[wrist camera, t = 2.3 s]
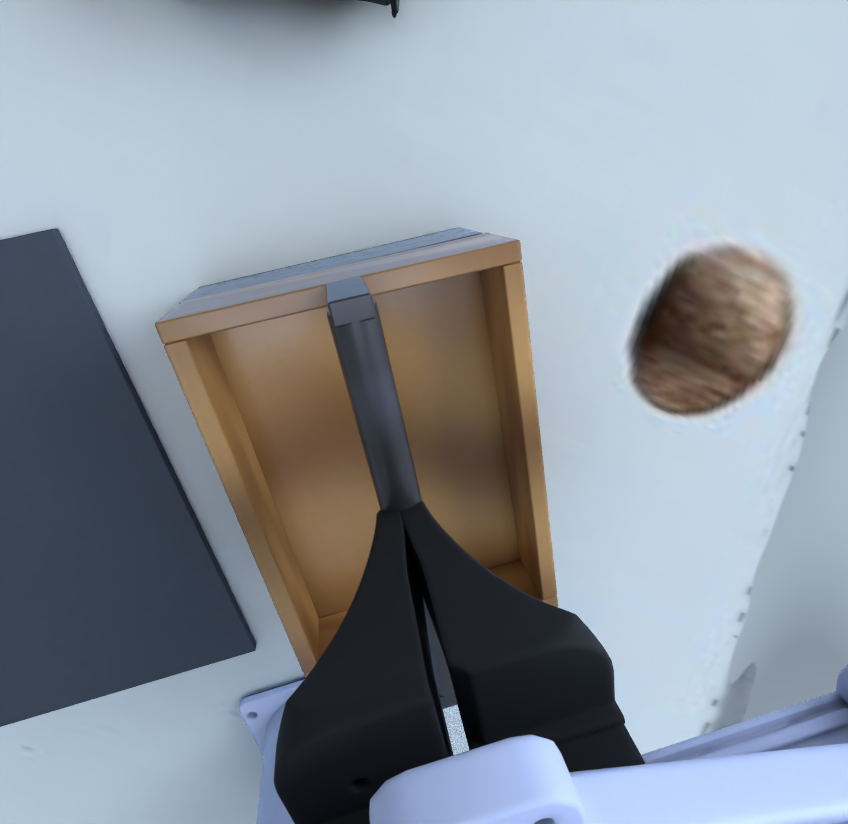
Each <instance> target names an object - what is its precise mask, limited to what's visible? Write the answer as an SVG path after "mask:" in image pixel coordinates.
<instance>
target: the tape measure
mask: <svg viewBox="0 0 848 824" xmlns="http://www.w3.org/2000/svg"><path fill="white" fill-rule="evenodd" d="M361 1H368V2H373V3H377V4H381V5H389V4H391V10H392V16H393V17H394V18H395V17H396V15H397V13H398V10H399V0H361Z"/></svg>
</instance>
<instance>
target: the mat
mask: <svg viewBox="0 0 848 824" xmlns="http://www.w3.org/2000/svg"><path fill="white" fill-rule="evenodd" d="M255 650H256V643H255V641H254V639H253V637H252V635H251V633H250V630H249V628H248V626H247V624H246V622H245V620H244V618H243V616H242V614H241V612H240V610H239V607H238V605H237V603H236V601H235V599H234V597H233V595H232V593H231V591H230V589H229V586H228V584H227V582H226V580H225V578H224V576H223V574H222V572H221V570H220V568H219V566H218V563H217V561H216V559H215V557H214V555H213V553H212V551H211V549H210V547H209V545H208V542H207V540H206V538H205V536H204V534H203V532H202V530H201V528H200V526H199V524H198V521H197V519H196V517H195V515H194V513H193V511H192V509H191V507H190V505H189V503H188V501H187V498H186V496H185V494H184V492H183V490H182V488H181V486H180V484H179V482H178V480H177V477H176V475H175V473H174V471H173V469H172V467H171V465H170V463H169V461H168V459H167V456H166V454H165V452H164V450H163V448H162V446H161V444H160V442H159V440H158V438H157V436H156V433H155V431H154V429H153V427H152V425H151V423H150V421H149V419H148V417H147V415H146V412H145V410H144V408H143V406H142V404H141V402H140V400H139V398H138V396H137V394H136V391H135V389H134V387H133V385H132V383H131V381H130V379H129V377H128V375H127V373H126V371H125V368H124V366H123V364H122V362H121V360H120V358H119V356H118V354H117V352H116V350H115V347H114V345H113V343H112V341H111V339H110V337H109V335H108V333H107V331H106V329H105V327H104V324H103V322H102V320H101V318H100V316H99V314H98V312H97V310H96V308H95V306H94V303H93V301H92V299H91V297H90V295H89V293H88V291H87V289H86V287H85V285H84V282H83V280H82V278H81V276H80V274H79V272H78V270H77V268H76V266H75V264H74V262H73V259H72V257H71V255H70V253H69V251H68V249H67V247H66V245H65V243H64V241H63V238H62V236H61V234H60V232H59V230H58V229H51V230H46V231H41V232H37V233H32V234H27V235H22V236H18V237H13V238H8V239H4V240H0V727H1V726H4V725H8V724H11V723H14V722H18V721H21V720H25V719H28V718H31V717H35V716H38V715H41V714H45V713H48V712H51V711H55V710H58V709H61V708H65V707H68V706H71V705H75V704H78V703H81V702H85V701H88V700H91V699H95V698H98V697H102V696H105V695H108V694H112V693H115V692H118V691H122V690H125V689H128V688H132V687H135V686H138V685H142V684H145V683H148V682H152V681H155V680H158V679H162V678H165V677H168V676H172V675H175V674H179V673H182V672H185V671H189V670H192V669H195V668H199V667H202V666H205V665H209V664H212V663H215V662H219V661H222V660H225V659H229V658H232V657H235V656H239V655H242V654H245V653H249V652H252V651H255Z"/></svg>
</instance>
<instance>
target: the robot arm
mask: <svg viewBox="0 0 848 824" xmlns="http://www.w3.org/2000/svg"><path fill="white" fill-rule="evenodd" d="M423 599H424V601H425V604H426V607H427V610H428V612H429V615H430V618H431V621H432V624H433V626H434V629H435V632H436V635H437V637H438V640H439V643H440V646H441V649H442V651H443V654H444V657H445V660H446V663H447V666H448V670H449V673H450V677H451V681H452V685H453V688H454V692H455V696H456V700H457V704H458V708H459V711H460V715H461V719H462V723H463V727H464V731H465V734H466V738H467V742H468V746H469V751H466V752H463V753H460V754H457V755H453V751H452V747H451V743H450V738H449V734H448V730H447V726H446V722H445V717H444V713H443V709H442V705H441V701H440V696H439V692H438V688H437V684H436V679H435V675H434V669H433V664H432V658H431V651H430V643H429V636H428V629H427V622H426V615H425V608H424V601H423ZM239 712H240V714H241V716H242V717H243V719H244V721H245V723H246V725H247V727H248V729H249V730H250V732H251V734H252V736H253V738H254V740H255V742H256V743H257V745H258V747H259V749H260V751H261V753H262V755H263V766H262V776H261V786H260V796H259V807H258V817H257V824H848V665H847V666H846V667H844V668H843V669H842V670H841V672H840V673H839V675H838V678H837V686H836V691H835V692H832V693H829V694H826V695H823V696H820V697H817V698H814V699H811V700H808V701H805V702H801V703H798V704H796V705H792V706H789V707H786V708H783V709H780V710H777V711H774V712H771V713H768V714H765V715H762V716H759V717H756V718H753V719H750V720H747V721H743V722H740V723H737V724H734V725H731V726H728V727H725V728H722V729H719V730H716V731H713V732H710V733H707V734H704V735H701V736H698V737H695V738H692V739H688V740H685V741H682V742H679V743H676V744H673V745H670V746H667V747H664V748H661V749H658V750H655V751H652V752H649V753H646V754H643V755H641V754H640V752H639V751H638V749H637V747H636V745H635V743H634V742H633V740H632V738H631V736H630V734H629V733H628V731H627V729H626V727H625V725H624V724H625V719H624V716H623V714H622V712H621V710H620V709H619V707H618V705H617V703H616V702H615V694H614V670H613V665H612V661H611V659H610V657H609V656H608V654H607V652H606V650H605V649H604V647H603V646H602V645H601V643H600V642H599V641H598V639H597V638H596V637H595V636H594V634H593V633H592V632H591V631H590V629H589V628H588V627H587V626H586V625H585V624H584V623H583V622H582V621H581V619H580V618H579V617H578V616H577V615H576V614H573V613H571V612H568V611H566V610H563V609H560V608H558V607H555V606H553V605H550V604H547V603H545V602H543V601H541V600H539V599H536V598H534V597H532V596H530V595H529V594H527V593H525V592H523V591H522V590H520V589H518V588H516V587H515V586H513V585H511V584H509V583H508V582H506V581H504V580H503V579H501V578H500V577H498V576H497V575H495V574H494V573H492V572H491V571H490V570H488V569H487V568H486V567H484V566H483V565H482V564H480V563H479V562H478V561H477V560H475V559H474V558H473V557H472V556H471V555H469V554H468V553H467V552H466V551H465V550H464V549H463V548H462V547H461V546H460V545H459V544H457V543H456V542H455V541H454V540H453V539H452V537H451V536H450V535H449V534H448V533H447V532H446V531H445V530H444V529H443V528H442V527H441V526H440V524H439V523H438V522H437V521H436V520H435V518H434V517H433V516H432V514H431V513H430V512H429V510H428V509H427V507H426V505H425V503H424V502H423V501H420V502H419V503H417V504H416V505H414V506H412V507H410V508H408V509H405V510H401V511H396V512H384V511H382V510H379V512H378V513H377V514H376V526H375V532H374V537H373V542H372V546H371V550H370V553H369V557H368V561H367V564H366V567H365V570H364V573H363V575H362V578H361V581H360V584H359V587H358V589H357V591H356V594H355V596H354V599H353V601H352V603H351V605H350V607H349V609H348V611H347V613H346V615H345V617H344V619H343V621H342V623H341V625H340V627H339V628H338V630H337V632H336V634H335V636H334V637H333V639H332V641H331V642H330V644H329V645H328V647H327V648H326V650H325V651H324V653H323V654H322V656H321V657H320V659H319V660H318V662H317V663H316V665H315V666H314V668H313V669H312V670H311V672H310V673H309V674H308V676H307V677H306V678H305V679H304V680H300V681H297V682H294V683H291V684H287V685H284V686H281V687H278V688H274V689H271V690H268V691H265V692H261V693H258V694H255V695H252V696H248V697H246V698H244V699H242V700H241V701H240V705H239Z"/></svg>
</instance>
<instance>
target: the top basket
mask: <svg viewBox="0 0 848 824" xmlns="http://www.w3.org/2000/svg"><path fill="white" fill-rule="evenodd" d="M521 260H522V256H521V246H520V241H519V240H516V239H511V238H507V237H502V236H498V235H493V234H489V233H484V234H479V235H475V236H470V237H466V238H462V239H457V240H453V241H448V242H444V243H439V244H435V245H431V246H426V247H422V248H417V249H413V250H408V251H404V252H400V253H395V254H391V255H386V256H382V257H377V258H373V259H369V260H364V261H360V262H355V263H351V264H346V265H342V266H337V267H333V268H329V269H324V270H320V271H315V272H311V273H306V274H302V275H298V276H293V277H289V278H284V279H280V280H275V281H271V282H267V283H262V284H258V285H253V286H249V287H244V288H240V289H236V290H231V291H227V292H222V293H218V294H213V295H209V296H205V297H200V298H196V299H191V300H187V301H183V302H181V303H180V304H179V305H178V306H177V307H175V308H174V309H173V310H171V311H170V312H169V313H168V314H166V315H165V316H164V317H163V318H161V319H160V320H159V321H158V322H156V323H155V326H156V329H157V331H158V333H159V336H160V338H161V341H162V343H163V344H165V345H164V348H165V350H166V352H167V355H168V357H169V359H170V362H171V364H172V366H173V369H174V371H175V373H176V376H177V378H178V381H179V383H180V385H181V388H182V390H183V392H184V395H185V397H186V399H187V402H188V404H189V406H190V409H191V411H192V413H193V416H194V418H195V420H196V423H197V425H198V427H199V430H200V432H201V434H202V437H203V439H204V441H205V444H206V446H207V448H208V451H209V453H210V455H211V458H212V460H213V462H214V465H215V467H216V469H217V472H218V474H219V476H220V479H221V481H222V483H223V486H224V488H225V491H226V493H227V495H228V498H229V500H230V502H231V505H232V507H233V509H234V512H235V514H236V516H237V519H238V521H239V523H240V526H241V528H242V530H243V533H244V535H245V537H246V540H247V542H248V544H249V547H250V549H251V551H252V554H253V556H254V558H255V561H256V563H257V565H258V568H259V570H260V572H261V575H262V577H263V579H264V582H265V584H266V586H267V589H268V591H269V594H270V596H271V598H272V601H273V603H274V605H275V608H276V610H277V612H278V615H279V617H280V619H281V622H282V624H283V626H284V629H285V631H286V633H287V636H288V638H289V640H290V643H291V645H292V647H293V650H294V652H295V654H296V657H297V659H298V661H299V664H300V666H301V668H302V671H303V672H304V675H305V678H306V677H307V676H308V674H309V673H310V672H311V670H312V669H313V668H314V666H315V665H316V663H317V662H318V660H319V659H320V657H321V656H322V654H323V653H324V651H325V650H326V648H327V647H328V645H329V644H330V642H331V641H332V639H333V637H334V636H335V634H336V632H337V630H338V628H339V627H340V625H341V623H342V621H343V619H344V617H345V615H346V613H347V611H348V609H349V607H350V605H351V603H352V601H353V599H354V596H355V594H356V591H357V589H358V587H359V584H360V581H361V578H362V575H363V573H364V570H365V567H366V564H367V561H368V557H369V553H370V550H371V546H372V542H373V537H374V532H375V526H376V514H377V513H378V512H379V510H382V511H384V512H396V511H401V510H405V509H408V508H410V507H412V506H414V505H416V504H417V503H419V502H420V501H423V502H424V503H425V505H426V507H427V509H428V510H429V512H430V513H431V514H432V516H433V517H434V518H435V520H436V521H437V522H438V523H439V524H440V526H441V527H442V528H443V529H444V530H445V531H446V532H447V533H448V534H449V535H450V536H451V537H452V539H453V540H454V541H455V542H456V543H457V544H459V545H460V546H461V547H462V548H463V549H464V550H465V551H466V552H467V553H468V554H469V555H471V556H472V557H473V558H474V559H475V560H477V561H478V562H479V563H480V564H482V565H483V566H484V567H486V568H487V569H488V570H490V571H491V572H492V573H494V574H495V575H497V576H498V577H500V578H501V579H503V580H504V581H506V582H508V583H509V584H511V585H513V586H515V587H516V588H518V589H520V590H522V591H523V592H525V593H527V594H529V595H530V596H532V597H534V598H536V599H539V600H541V601H543V602H545V603H547V604H550V605H553V606H555V607H558V600H557V591H556V581H555V571H554V562H553V552H552V543H551V533H550V524H549V514H548V505H547V495H546V486H545V476H544V467H543V457H542V447H541V438H540V428H539V419H538V409H537V400H536V390H535V381H534V371H533V362H532V352H531V342H530V333H529V323H528V314H527V304H526V295H525V285H524V276H523V266H522V262H520V261H521ZM423 601H424V599H423ZM424 608H425V615H426V622H427V629H428V636H429V643H430V651H431V658H432V664H433V669H434V675H435V679H436V684H437V688H438V692H439V696H440V701H441V705H442V709H444V708H448V707H451V706H454V705H457V700H456V696H455V692H454V688H453V685H452V681H451V677H450V673H449V670H448V666H447V663H446V660H445V657H444V654H443V651H442V649H441V646H440V643H439V640H438V637H437V635H436V632H435V629H434V626H433V624H432V621H431V618H430V615H429V612H428V610H427V607H426V604H425V601H424Z"/></svg>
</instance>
